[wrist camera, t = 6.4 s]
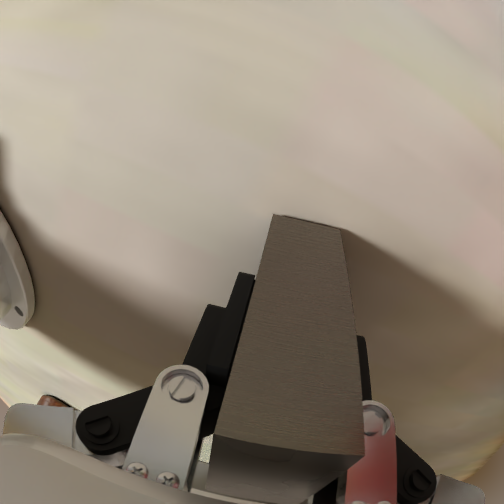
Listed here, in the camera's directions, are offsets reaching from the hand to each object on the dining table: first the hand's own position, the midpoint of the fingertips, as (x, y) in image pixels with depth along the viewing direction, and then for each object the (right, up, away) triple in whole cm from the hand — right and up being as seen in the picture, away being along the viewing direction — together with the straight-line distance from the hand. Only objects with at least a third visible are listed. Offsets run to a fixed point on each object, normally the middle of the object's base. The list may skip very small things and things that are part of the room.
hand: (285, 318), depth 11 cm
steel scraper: (-1, -4, +5) cm, 6 cm away
